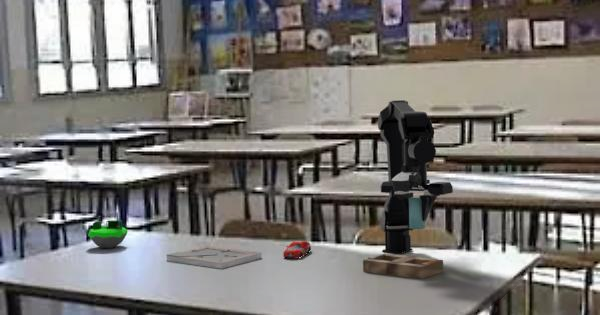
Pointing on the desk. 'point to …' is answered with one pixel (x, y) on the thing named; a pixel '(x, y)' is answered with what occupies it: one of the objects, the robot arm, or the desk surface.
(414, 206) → the teal rounded cylinder
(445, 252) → the desk surface
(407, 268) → the socket block
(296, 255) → the race car
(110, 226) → the green grey rounded piece
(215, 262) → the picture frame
